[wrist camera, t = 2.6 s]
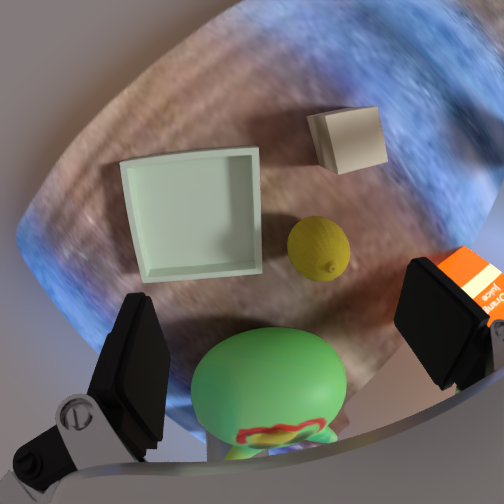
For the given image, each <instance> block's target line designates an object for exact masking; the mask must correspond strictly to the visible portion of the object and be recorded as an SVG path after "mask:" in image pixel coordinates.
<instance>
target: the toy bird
mask: <svg viewBox="0 0 504 504" xmlns="http://www.w3.org/2000/svg"><path fill="white" fill-rule="evenodd" d="M345 394H346V373H345V369H344V366H343V363H342V361H341V359H340V357H339V356H338V354H337V353H336V351H335V350H334V349H333V348H332V347H331V346H330V345H329V344H328V343H327V342H326V341H324V340H323V339H321V338H320V337H318V336H316V335H314V334H312V333H309V332H306V331H303V330H299V329H293V328H285V327H267V328H259V329H253V330H249V331H246V332H242V333H239V334H237V335H234V336H232V337H229V338H227V339H225V340H224V341H222V342H220V343H218V344H217V345H216V346H214V347H213V348H212V349H211V350H209V351H208V352H207V353H206V354H205V356H204V357H203V358H202V359H201V361H200V362H199V364H198V365H197V367H196V369H195V372H194V374H193V378H192V382H191V401H192V405H193V408H194V411H195V414H196V416H197V418H198V419H199V421H200V422H201V424H202V425H203V426H204V427H205V429H206V430H207V431H208V432H210V433H211V434H212V435H213V436H215V437H216V438H218V439H220V440H222V441H224V442H226V443H228V444H231V445H232V447H231V449H230V450H229V452H228V453H227V454H226V456H225V457H224V458H223V460H222V461H224V460H236V459H246V458H250V457H252V456H254V455H256V454H257V453H259V452H261V451H263V450H264V449H273V448H280V447H285V446H289V445H292V444H296V443H298V442H301V441H303V440H309V441H315V442H321V443H333V442H335V441H337V435H336V434H335V433H334V432H333V431H332V430H331V429H330V428H329V427H328V426H327V425H328V424H329V423H330V422H331V421H332V420H333V419H334V418H335V416H336V415H337V414H338V412H339V410H340V408H341V406H342V404H343V401H344V398H345Z"/></svg>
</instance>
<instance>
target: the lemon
mask: <svg viewBox="0 0 504 504" xmlns="http://www.w3.org/2000/svg"><path fill="white" fill-rule="evenodd" d="M287 250H288V255H289V257H290V260H291V262H292V264H293V265H294V267H295V268H296V269H297V271H298V272H300V273H301V274H302V275H303V276H305V277H306V278H308V279H311V280H313V281H318V282H325V281H330V280H333V279H335V278H336V277H338V276H339V275H340V274H341V273H342V272H343V271H344V270H345V268H346V267H347V265H348V262H349V258H350V246H349V243H348V240H347V238H346V236H345V234H344V232H343V231H342V230H341V228H340V227H339V226H338V225H337V224H335V223H334V222H333V221H331V220H329V219H327V218H324V217H320V216H312V217H307V218H304V219H302V220H300V221H299V222H298V223H297V224H295V226H294V227H293V228H292V230H291V232H290V234H289V236H288V241H287Z"/></svg>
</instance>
